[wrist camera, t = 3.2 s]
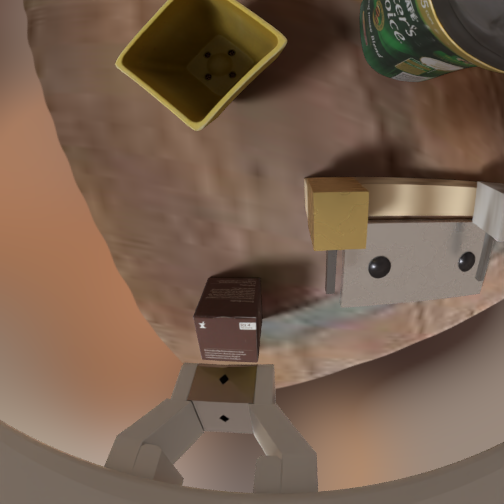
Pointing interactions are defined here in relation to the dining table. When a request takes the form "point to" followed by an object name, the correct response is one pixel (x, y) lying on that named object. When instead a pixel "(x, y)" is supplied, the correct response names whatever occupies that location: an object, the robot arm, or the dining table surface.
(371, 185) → the beam
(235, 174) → the dining table surface
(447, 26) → the coffee jar
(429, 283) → the hole plate
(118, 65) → the flower pot
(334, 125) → the dining table surface
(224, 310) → the box
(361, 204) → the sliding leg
